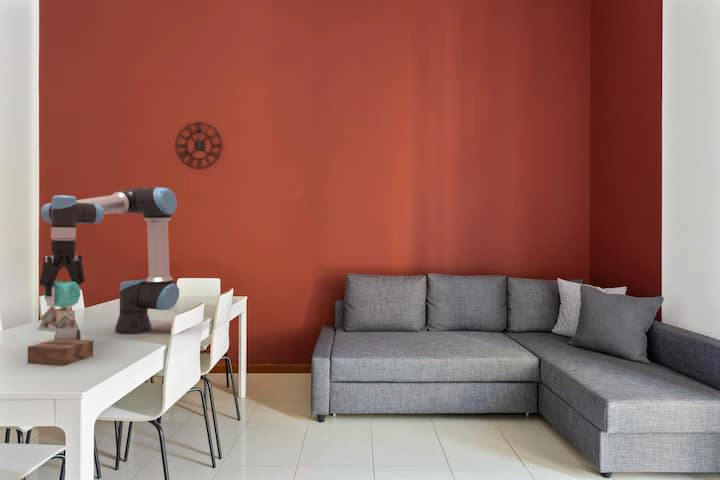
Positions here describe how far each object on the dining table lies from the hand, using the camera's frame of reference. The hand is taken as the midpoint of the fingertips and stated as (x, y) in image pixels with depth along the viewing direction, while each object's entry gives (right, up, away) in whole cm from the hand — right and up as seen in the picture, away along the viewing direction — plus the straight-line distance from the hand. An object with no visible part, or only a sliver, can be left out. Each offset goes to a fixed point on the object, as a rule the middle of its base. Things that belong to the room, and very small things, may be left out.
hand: (62, 304), depth 179 cm
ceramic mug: (-8, -19, +16) cm, 27 cm away
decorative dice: (0, -1, 0) cm, 1 cm away
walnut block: (-1, -20, 0) cm, 20 cm away
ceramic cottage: (-34, -18, +55) cm, 67 cm away
